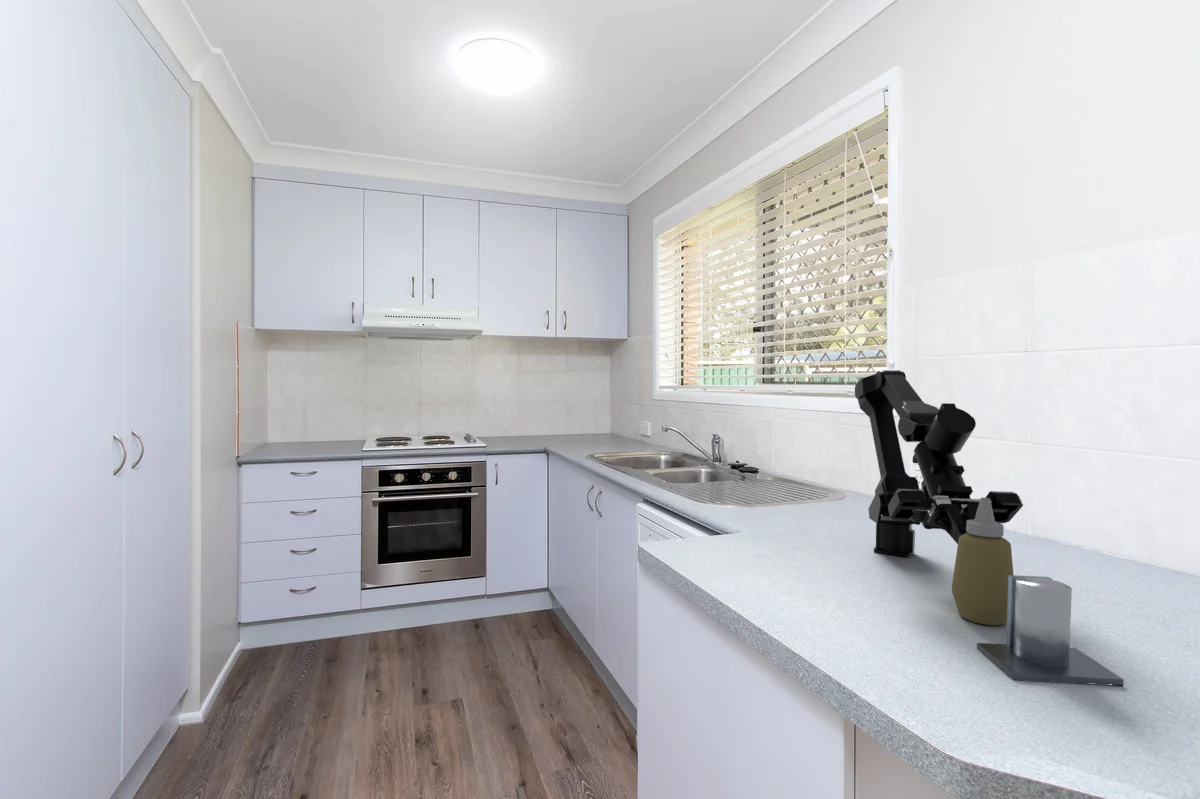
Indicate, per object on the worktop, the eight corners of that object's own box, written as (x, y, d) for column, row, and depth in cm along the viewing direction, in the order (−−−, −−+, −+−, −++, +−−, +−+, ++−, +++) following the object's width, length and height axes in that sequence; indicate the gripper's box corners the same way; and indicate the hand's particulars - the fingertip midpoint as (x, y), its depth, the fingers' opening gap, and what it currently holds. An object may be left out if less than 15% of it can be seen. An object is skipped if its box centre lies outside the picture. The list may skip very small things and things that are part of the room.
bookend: (977, 648, 77) (979, 573, 77) (1075, 654, 76) (1078, 578, 75) (1012, 679, 69) (1015, 596, 69) (1123, 686, 68) (1126, 601, 67)
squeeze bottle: (1004, 612, 89) (1008, 495, 89) (1024, 633, 82) (1027, 505, 81) (944, 605, 92) (947, 491, 91) (958, 625, 84) (961, 501, 84)
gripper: (978, 497, 106) (1011, 578, 95) (870, 494, 108) (891, 573, 97) (1005, 460, 98) (1044, 546, 87) (888, 458, 100) (913, 541, 89)
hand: (970, 553), depth 90 cm, fingers closed
